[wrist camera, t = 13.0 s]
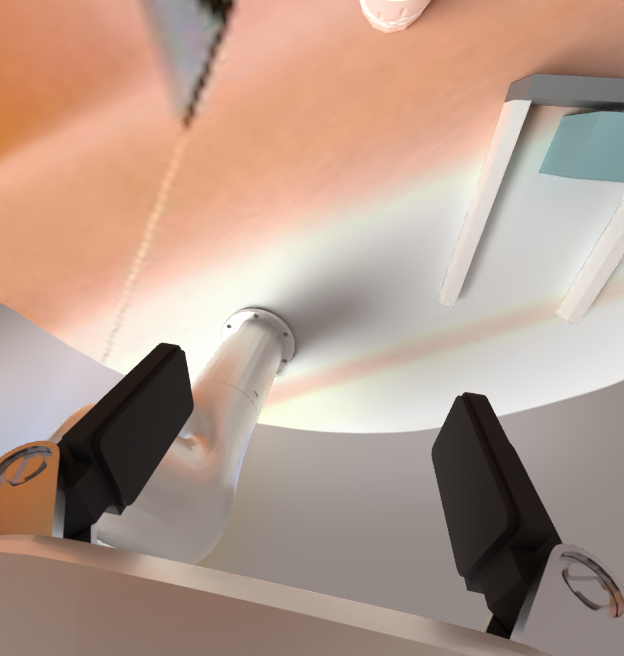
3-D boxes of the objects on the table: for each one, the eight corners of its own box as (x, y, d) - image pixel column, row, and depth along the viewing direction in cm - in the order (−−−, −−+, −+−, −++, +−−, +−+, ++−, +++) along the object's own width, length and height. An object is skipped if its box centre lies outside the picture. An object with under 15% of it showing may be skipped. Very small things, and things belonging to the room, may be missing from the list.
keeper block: (587, 176, 32) (628, 182, 27) (538, 172, 32) (570, 177, 27) (616, 120, 29) (668, 115, 24) (562, 116, 30) (602, 111, 25)
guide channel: (567, 314, 40) (590, 334, 36) (438, 297, 42) (446, 315, 37) (704, 94, 27) (765, 86, 23) (510, 83, 29) (535, 73, 25)
